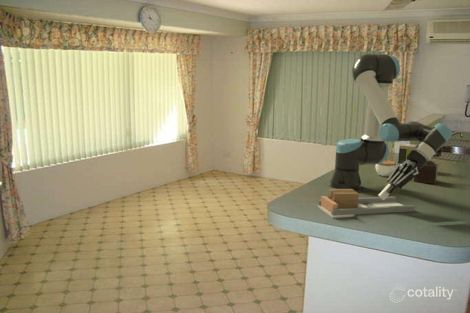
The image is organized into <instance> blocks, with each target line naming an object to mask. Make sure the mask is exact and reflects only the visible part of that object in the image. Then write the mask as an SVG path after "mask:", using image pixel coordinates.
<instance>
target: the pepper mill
mask: <svg viewBox="0 0 470 313" xmlns="http://www.w3.org/2000/svg"><path fill="white" fill-rule="evenodd" d="M443 152H444V148H443V147H441V148H440V149H439V150H438V151H437V152H436V153H435V154H434V155H433V156H432V158H433V157H441V156H442V153H443ZM439 168H440V163H435V161H432V160H429V161H427V163H426V164H425V165H424V166H423V167H422V168H419V169H418V172H419V173H420V174H419V175H418V176H416V177H414V178H413V182H416V183H422V184H426V185H427V184H428V185H436V184H437V183H438V182H439V180H438V177H439V171H440V170H439Z"/></svg>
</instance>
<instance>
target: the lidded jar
mask: <svg viewBox="0 0 470 313" xmlns="http://www.w3.org/2000/svg"><path fill="white" fill-rule="evenodd" d="M396 165H397V163H396V161H392V160H388V159H387V158H386V160H385V161H384V162H382V163H380V164H375V166H374V168H375V171H376V173H377V175H378V176H380V175H381V177H389V176H390V175H391V173H392V172H393V170H394V169H395V167H396Z"/></svg>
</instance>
